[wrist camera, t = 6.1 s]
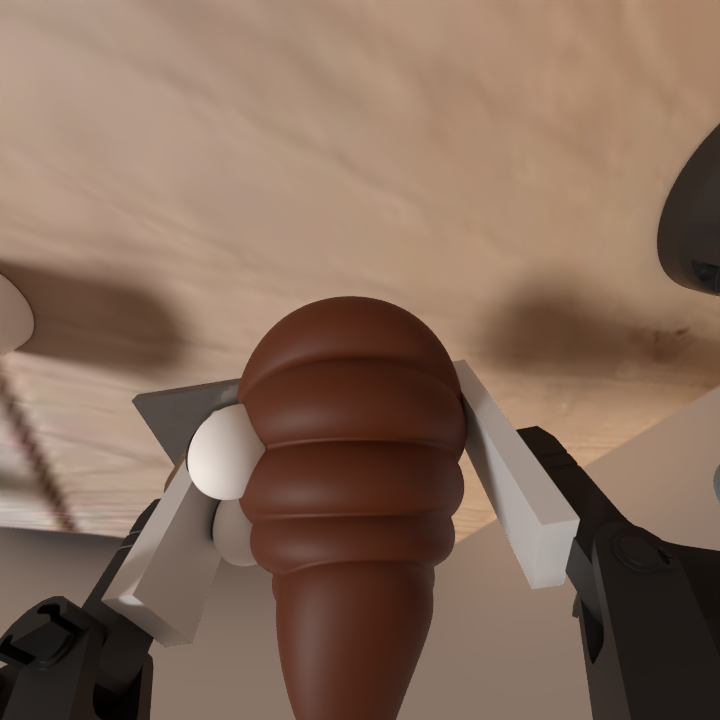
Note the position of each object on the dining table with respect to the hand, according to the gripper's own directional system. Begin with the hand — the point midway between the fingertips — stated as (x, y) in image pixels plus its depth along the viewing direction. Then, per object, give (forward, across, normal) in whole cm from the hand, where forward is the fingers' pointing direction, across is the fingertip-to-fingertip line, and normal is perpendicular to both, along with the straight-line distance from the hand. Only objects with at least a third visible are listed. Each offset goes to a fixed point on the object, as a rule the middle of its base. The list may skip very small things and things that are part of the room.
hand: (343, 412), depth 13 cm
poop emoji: (+1, 0, 0) cm, 1 cm away
